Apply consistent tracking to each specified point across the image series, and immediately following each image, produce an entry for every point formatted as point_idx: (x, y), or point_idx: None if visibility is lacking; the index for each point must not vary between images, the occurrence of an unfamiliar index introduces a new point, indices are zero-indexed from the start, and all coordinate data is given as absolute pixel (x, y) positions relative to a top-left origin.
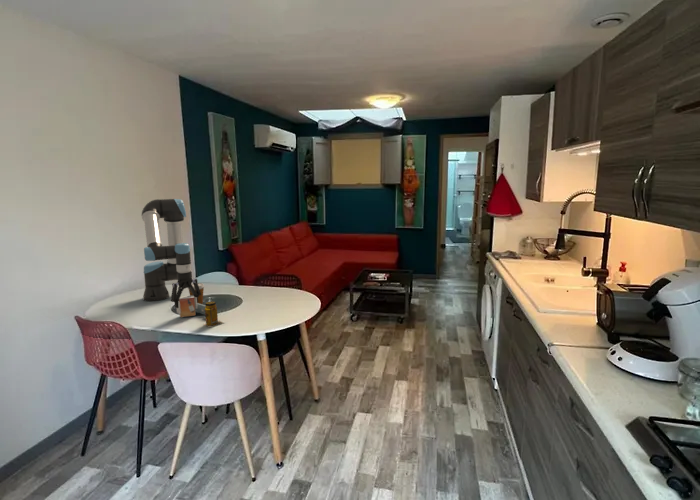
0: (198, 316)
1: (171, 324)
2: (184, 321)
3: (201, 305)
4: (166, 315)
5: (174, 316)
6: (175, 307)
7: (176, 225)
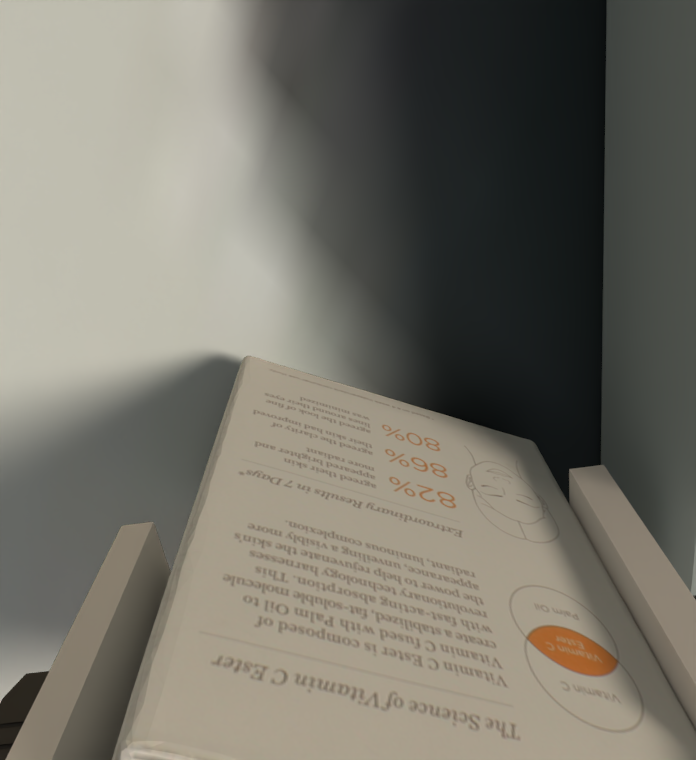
0: None
1: (5, 625)
2: None
3: None
4: (11, 39)
5: (155, 270)
6: (26, 686)
7: None
